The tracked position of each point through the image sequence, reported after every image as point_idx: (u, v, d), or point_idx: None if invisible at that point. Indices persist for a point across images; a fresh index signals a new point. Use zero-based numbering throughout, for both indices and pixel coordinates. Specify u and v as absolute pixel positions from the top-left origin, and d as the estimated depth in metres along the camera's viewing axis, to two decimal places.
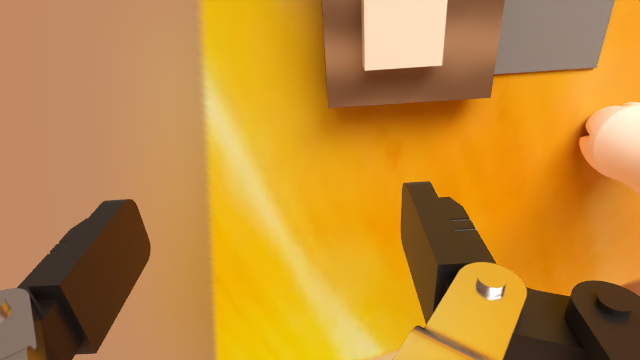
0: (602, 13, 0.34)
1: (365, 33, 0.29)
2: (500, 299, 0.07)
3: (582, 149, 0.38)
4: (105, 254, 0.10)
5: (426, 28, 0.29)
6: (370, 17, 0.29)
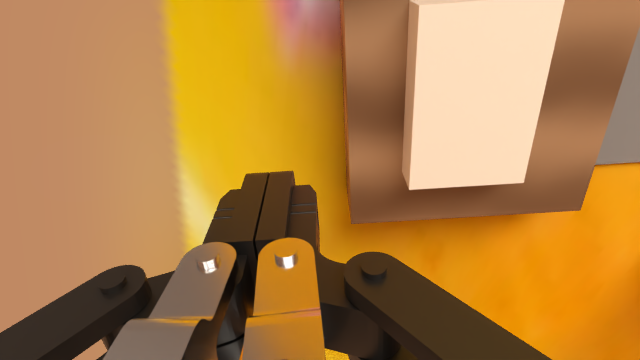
0: None
1: (413, 142, 0.19)
2: (285, 267, 0.08)
3: None
4: None
5: (506, 135, 0.19)
6: (422, 121, 0.19)
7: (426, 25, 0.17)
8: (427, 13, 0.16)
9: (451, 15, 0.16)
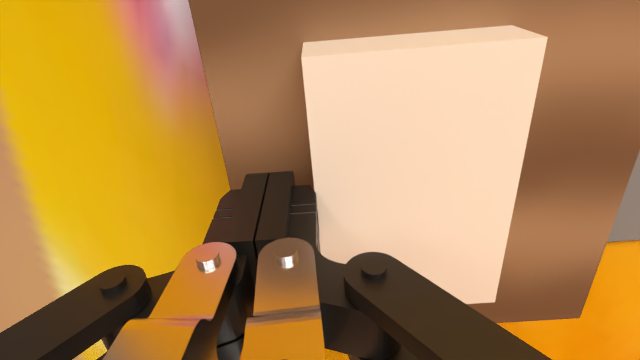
0: None
1: (322, 253, 0.13)
2: (285, 267, 0.08)
3: None
4: None
5: (463, 242, 0.13)
6: (332, 226, 0.12)
7: (318, 88, 0.10)
8: (317, 69, 0.10)
9: (357, 72, 0.10)
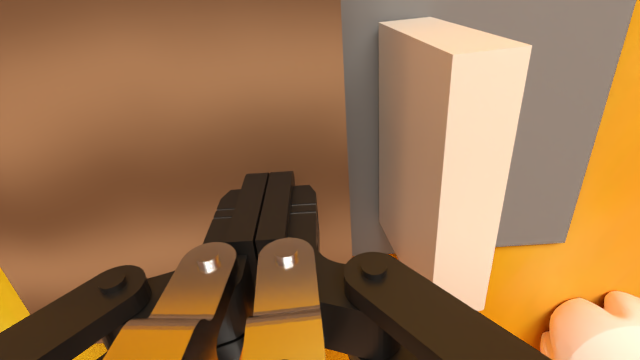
0: (572, 161, 0.18)
1: (493, 247, 0.12)
2: (285, 266, 0.08)
3: None
4: None
5: None
6: None
7: None
8: None
9: None
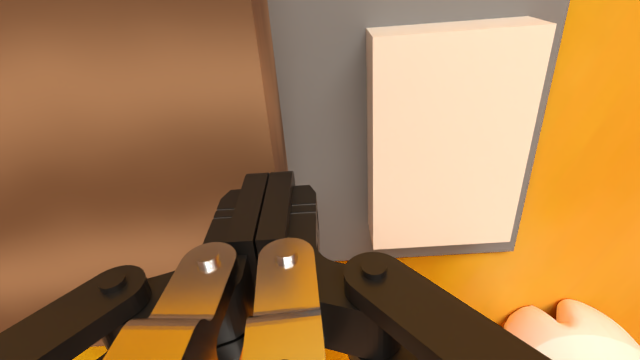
0: None
1: None
2: (285, 267, 0.08)
3: None
4: None
5: None
6: None
7: None
8: None
9: None
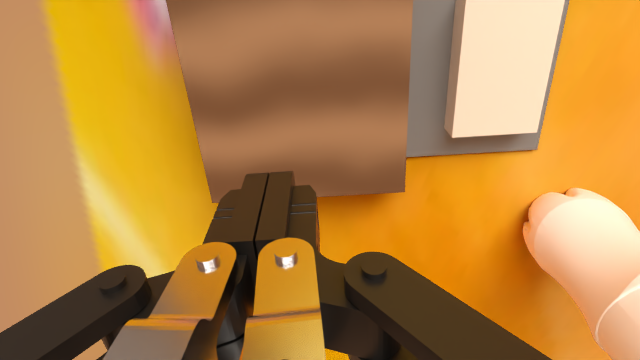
0: None
1: None
2: (285, 267, 0.08)
3: (524, 239, 0.33)
4: None
5: None
6: None
7: None
8: None
9: None
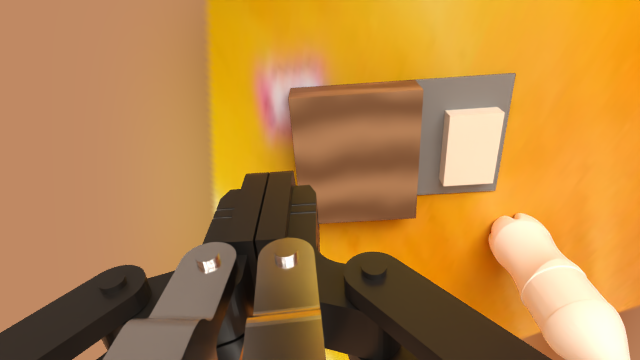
0: None
1: None
2: (285, 267, 0.08)
3: (489, 244, 0.53)
4: None
5: None
6: None
7: None
8: None
9: None
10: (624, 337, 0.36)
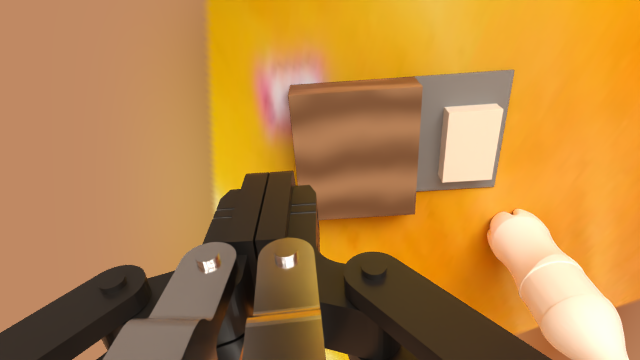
0: None
1: None
2: (285, 267, 0.08)
3: (488, 240, 0.53)
4: None
5: None
6: None
7: None
8: None
9: None
10: (621, 331, 0.36)
